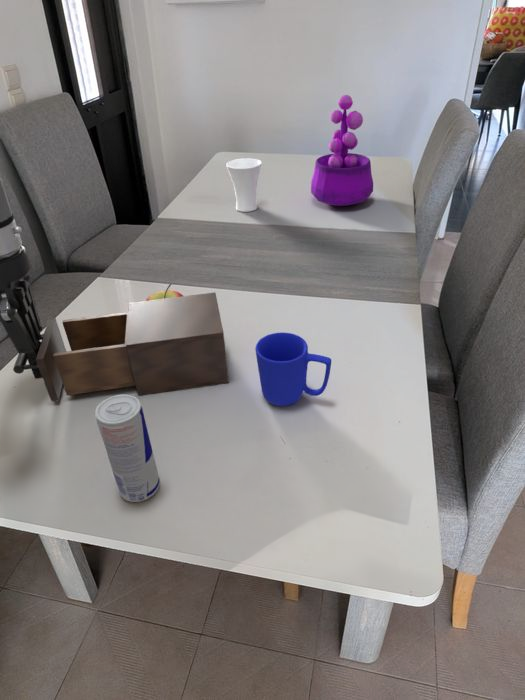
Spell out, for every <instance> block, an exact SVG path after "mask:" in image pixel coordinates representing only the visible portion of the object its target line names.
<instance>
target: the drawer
mask: <svg viewBox="0 0 525 700" xmlns="http://www.w3.org/2000/svg"><path fill="white" fill-rule="evenodd" d="M128 313H129V311H124V312H118V313H117V312H116V313H110V314H101V315H93V316H86V317H85V316H84V317H77V318H68V319H63V320H62V322H61V324H62V326H63V329H64V332H65V335H66V338H67V341H68V346H69V347H70V350H68V351H67V349H66V345H65V342H64V339H63V336H62V334H61V330H60V327H59V325H58V321H57V318H56V317H54V318H53V317H52V318H48V320H47V323H46V326H45V329H44V332H43V334H44V335H43V338H42V340H41V341H42V342H41V341H40V342H41V345H40V348H39V351H38V354H37V357H36V362H37V363H35V364H29V363H28V364H27V362H28V359H27V357H26V354H25V353H20V354H19V353H17V356H16V360H15V363H14V366H13V368H12V370H13V372H14V373H15V374H23V373H24V371H26V370H32V369H33V368H39V370H40V372H41V375H42V378H41V379H42V381H43V382H44V385H45V388H46V391H47V393H48V396H49V399H50V401H51V402H57V401H59V400H60V397H61V392H62V388H63V389H64V391H65V394H66V396H73V395H80V394H86V393H93V392H102V391H109V390H115V389H121V388H122V389H123V388H129V387H136V384H135V380H134V376H133V372H132V368H131V364H130V360H129V356H128V352H127V348H126V338H127V326H128Z"/></svg>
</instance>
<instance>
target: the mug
mask: <svg viewBox="0 0 525 700" xmlns="http://www.w3.org/2000/svg"><path fill="white" fill-rule="evenodd" d="M254 349H255V356H256V362H257V363H256V364H257V369H258V376H259V381H260V388H261V393H262V396H263V397H264V399H265V400H266V401H267V402H268V403H270V404H272V405H275V406H280V407H286V406H290V405H293V404H295V403H297V402H298V401H299V400H301V398H302V395H303V393H305V394H307V395H309V396H312V397H316V396H317V397H318V396H320V395H322V394H323V393H324V392H325V390H326V388H327V386H328V383H329V379H330V376H331V375H330V374H331V369H332V368H331V367H332V358H330V357H328V356H325V355H320V354H315V353H309V346H308V343H307V341H306V340H305V339H304V338H303V337H301V336H300V335H298V334H295V333H291V332H273V333H270V334H267V335H265V336H263V337H262V338H260V339H259V340H258V341H257V342H256V344H255V348H254ZM310 362H315V363H316V362H317V363H321V364H324V365H325V372H324V379H323V382H322V385H321V386H320V387H319V388H315V389H313V388H310V387H309V386H307V377H308V365H309V363H310Z"/></svg>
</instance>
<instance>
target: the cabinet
mask: <svg viewBox="0 0 525 700" xmlns="http://www.w3.org/2000/svg"><path fill="white" fill-rule="evenodd" d="M128 312H129V313H128V326H127V338H126V348H127V352H128V356H129V360H130V364H131V368H132V372H133V376H134V380H135V384H136V386H135V388H136V393H137V396H138V397H140V396H146V395H153V394H154V395H155V394H162V393H167V392H173V391H174V392H175V391H182V390H189V389H194V388H195V389H196V388H202V387H208V386H209V387H210V386H217V385H222V384H230V383H229V382H230V380H229V371H228V361H227V355H226V345H225V335H224V328H223V323H222V318H221V314H220V313H221V312H220V309H219V303H218V299H217V292H207V293H206V292H205V293H199V294H198V293H197V294H190V295H183V296H181V297H173V298H165V299H157V300H149V301H146V300H142V301H134V302H129V303H128Z"/></svg>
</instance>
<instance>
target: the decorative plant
mask: <svg viewBox="0 0 525 700" xmlns="http://www.w3.org/2000/svg"><path fill="white" fill-rule="evenodd" d="M353 103H354V101H353V99H352V96H350V95H349V94H343V95H342V96H340V97H339V100H338V102H337V104H338V107H339V109H337V110H336V109H335V110H333V111H332V112H331V113H330V118H329V119H330V121H331V122H332V123H333V124H335V125H337V124H340V129H336V130H334V132H333V133H332V139H331V140H330V142H329V144H328V148H329V151H330V152H331V153H329V154H325V155H321V156H319V157H317V158H316V160H315V162H314V163H315V164H314V170H313V175H312V178H311V182H310V193H311V195H312V196H313V197H314V198H315V199H316V200H317V201H318V202H320V203H322V204H326V205H330V206H337V207H347V206H351V205H357V204H360V203H362V202H364V201H367V199H368V198H369V197H370V196H371V195H372V194H373V192H374V179H373V174H372V164H371V159H370V158H369V157H368V156H366V155H363V154H360V153H359V154H358V153H354V152H353V153H352V152H349V150H350V151H352V150H354V149H355V148H356V147H357V146H358V144H359V142H358V138H357V136H356V134H355V133H354V132H351V131H355V130H357V129H359V128H361V126H362V125H363V123H364V118H363V114H362V113H361V112H359V111H357V110H353V111H350V112H349V113H347V112H348V111H347V110H349V109H351V108H352V106H353V105H354V104H353ZM340 109H341V110H342V111H343V112H342V111H341V110H340ZM349 129H350V130H351V131H348V130H349Z"/></svg>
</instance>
